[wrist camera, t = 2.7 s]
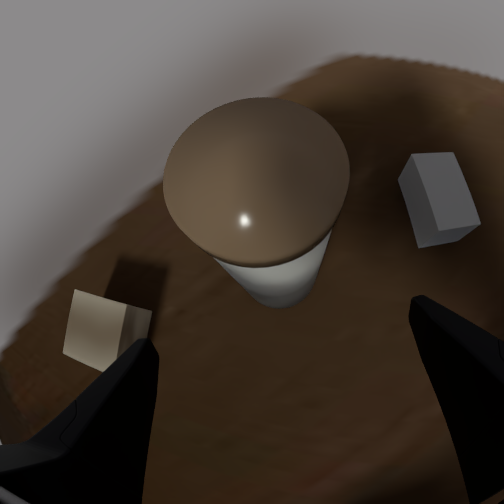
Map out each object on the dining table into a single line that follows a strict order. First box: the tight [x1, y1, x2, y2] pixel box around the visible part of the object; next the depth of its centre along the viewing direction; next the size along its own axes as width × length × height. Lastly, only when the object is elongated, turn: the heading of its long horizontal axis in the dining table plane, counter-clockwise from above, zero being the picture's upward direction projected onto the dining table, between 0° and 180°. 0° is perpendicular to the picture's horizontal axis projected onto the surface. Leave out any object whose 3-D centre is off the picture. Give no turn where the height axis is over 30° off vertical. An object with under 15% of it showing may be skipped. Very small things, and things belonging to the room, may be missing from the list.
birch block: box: [63, 289, 152, 372], centre depth 20 cm, size 5×5×4 cm
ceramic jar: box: [163, 98, 350, 309], centre depth 15 cm, size 5×5×14 cm
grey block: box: [398, 152, 481, 248], centre depth 19 cm, size 6×4×4 cm, turn 7°
